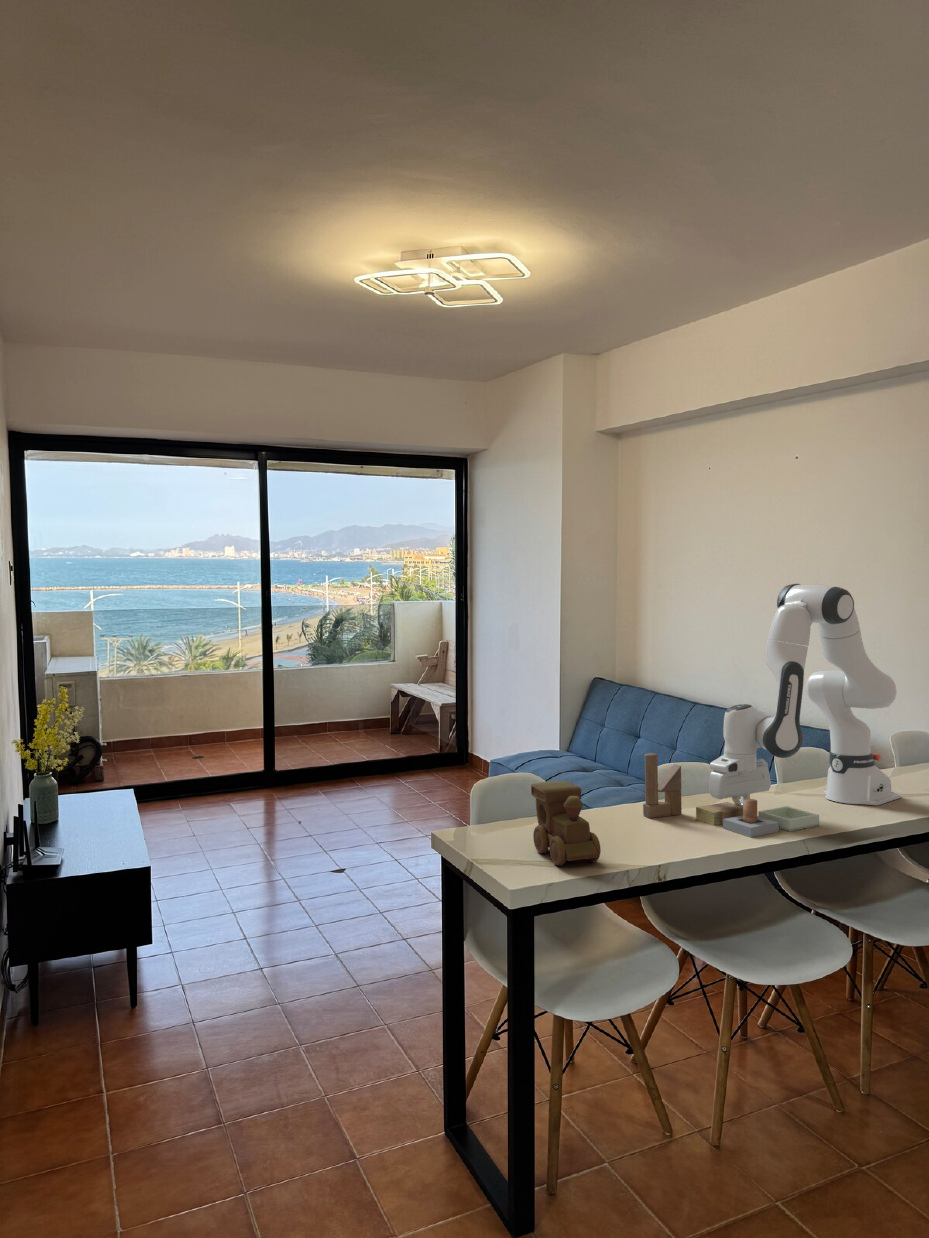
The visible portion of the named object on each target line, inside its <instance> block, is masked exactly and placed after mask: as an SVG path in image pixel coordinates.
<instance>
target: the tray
mask: <svg viewBox="0 0 929 1238" xmlns="http://www.w3.org/2000/svg"><path fill="white" fill-rule="evenodd" d="M757 816H759V817H762V818H765V819H769V820H772V821H776V822H779V828H781V829H780V830H782V831H786V832H795V830H796V831H800V830H799V829H801V830H804V829H803V828H806V829H810V828H815V826H816V827H820V814H819V813H818V814H817V813H814V812H810V811H806V810H803V809H799V808H796V807H791V806H789V805H787V806H781V807H776V808H769V809H765V810H760V811H759V810H757Z"/></svg>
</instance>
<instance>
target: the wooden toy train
mask: <svg viewBox="0 0 929 1238" xmlns="http://www.w3.org/2000/svg"><path fill="white" fill-rule="evenodd" d="M530 790H531V792H530V795H531V796H532V797H533V798H535V810H536V818H537V823H538V824H537V825H536V826H535V828H534V830H533V834H532V837H533V844H534V847H535V849H536V851H537V852H538V853H539V852H540V853H539V854H542V853H544V854H545V853H547V852H548V850H549V854H550V858H551V860H552V862H553V863H554V865H555V866H558V865H559V867H562V866H563V865H565V863H566V861H567V862H572V861H579V860H587V859H588V861H590V862H592V861H595V862H597V861H598V860H599V858H600V856H601V843H600V840H599V837H598V835H596V833H594V832H592V831H591V828H590V822H589V821H587V820H586V819H585V818H583V817H582V816H580V814H581V811H582V809H583V806H584V803H583V802H582V788H581V787H579V786H578V785H576V784H574V783H572V782H570V781H567V780H553V781H543V782H536V783H530Z"/></svg>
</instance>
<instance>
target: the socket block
mask: <svg viewBox="0 0 929 1238" xmlns="http://www.w3.org/2000/svg"><path fill="white" fill-rule="evenodd" d="M757 818H758V823H754V824H748V823H745V822H743V815H742V816H737V817H731V818H726V819H723V824H722V829H725V830H727V831H729V832H730V831H731V832H732V833H733V832H734V833H736V834H740V835H743V836H746V837H749V838H755V837H759V836H764V835H769V834H773V833H778V832H779V822H776V821H772V820H769V819H765V818H762V817H759V815H757Z"/></svg>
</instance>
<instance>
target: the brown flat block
mask: <svg viewBox="0 0 929 1238" xmlns="http://www.w3.org/2000/svg"><path fill="white" fill-rule="evenodd" d="M706 806H707V807H710V808H713V809H717V810H720V811H722V824H721V825H723V819H726V818H731V817H737V816H742V815H743V806H740V805H736V804H735V803H734V802H729V801H725V802H719V803H713V804H708V805H706Z"/></svg>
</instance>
